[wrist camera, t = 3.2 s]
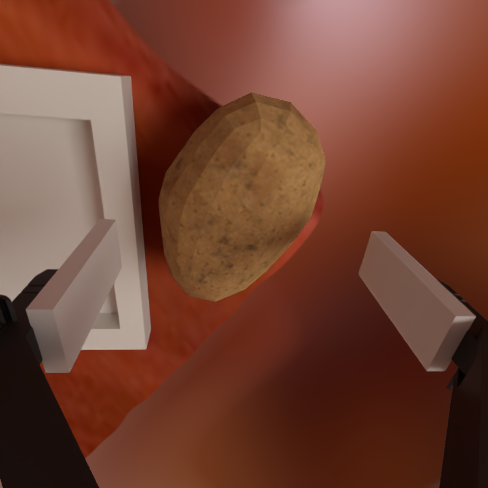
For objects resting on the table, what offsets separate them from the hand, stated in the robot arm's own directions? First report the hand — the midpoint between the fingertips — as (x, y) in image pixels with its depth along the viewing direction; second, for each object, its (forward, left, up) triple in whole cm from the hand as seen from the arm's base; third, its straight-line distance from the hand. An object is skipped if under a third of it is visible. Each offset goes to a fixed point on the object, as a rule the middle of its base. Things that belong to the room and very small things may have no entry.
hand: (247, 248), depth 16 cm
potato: (0, 0, -10) cm, 10 cm away
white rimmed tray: (+4, -16, -9) cm, 19 cm away
